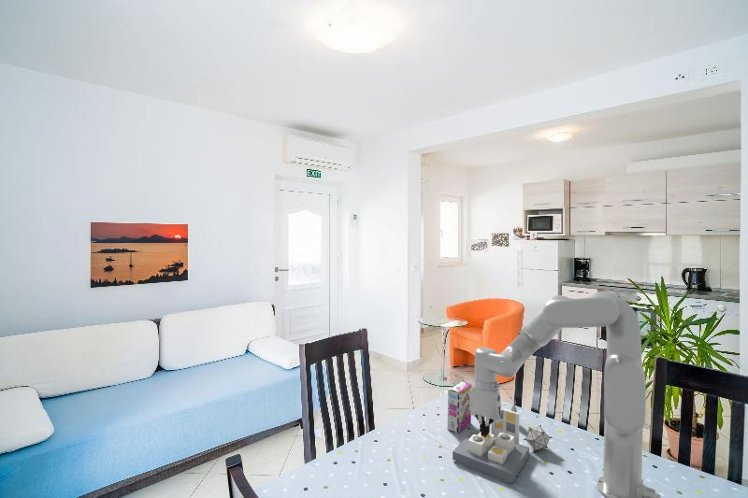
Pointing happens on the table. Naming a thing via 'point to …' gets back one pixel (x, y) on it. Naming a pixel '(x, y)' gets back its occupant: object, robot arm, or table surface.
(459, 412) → the candy bar box
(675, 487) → the table surface
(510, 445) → the button
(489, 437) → the button
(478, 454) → the button
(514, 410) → the pocket watch
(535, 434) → the game die
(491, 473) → the board
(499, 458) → the button
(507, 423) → the card
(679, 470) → the table surface
